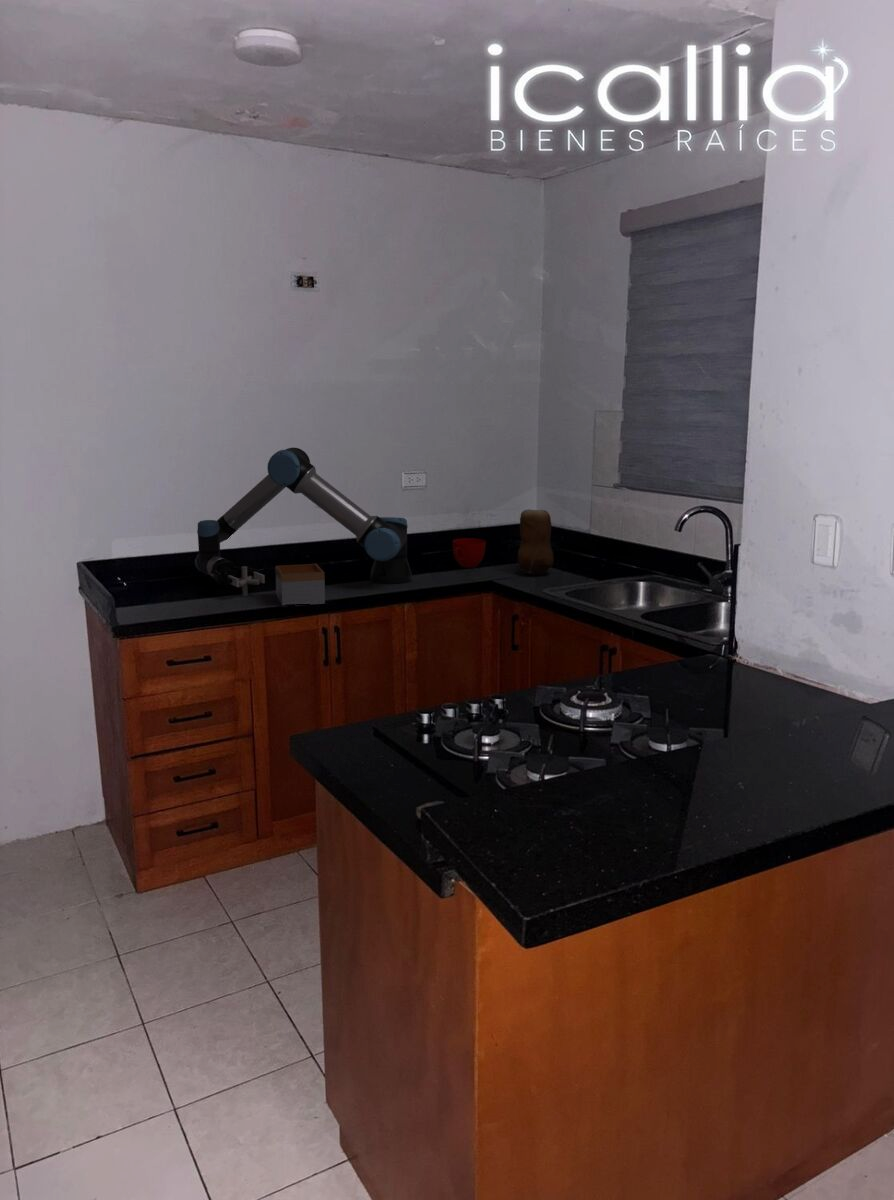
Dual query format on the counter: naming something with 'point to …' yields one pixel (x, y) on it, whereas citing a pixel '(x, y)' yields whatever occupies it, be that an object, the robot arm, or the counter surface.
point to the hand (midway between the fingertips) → (250, 581)
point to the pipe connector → (246, 581)
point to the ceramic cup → (468, 551)
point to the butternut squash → (535, 542)
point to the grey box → (300, 584)
